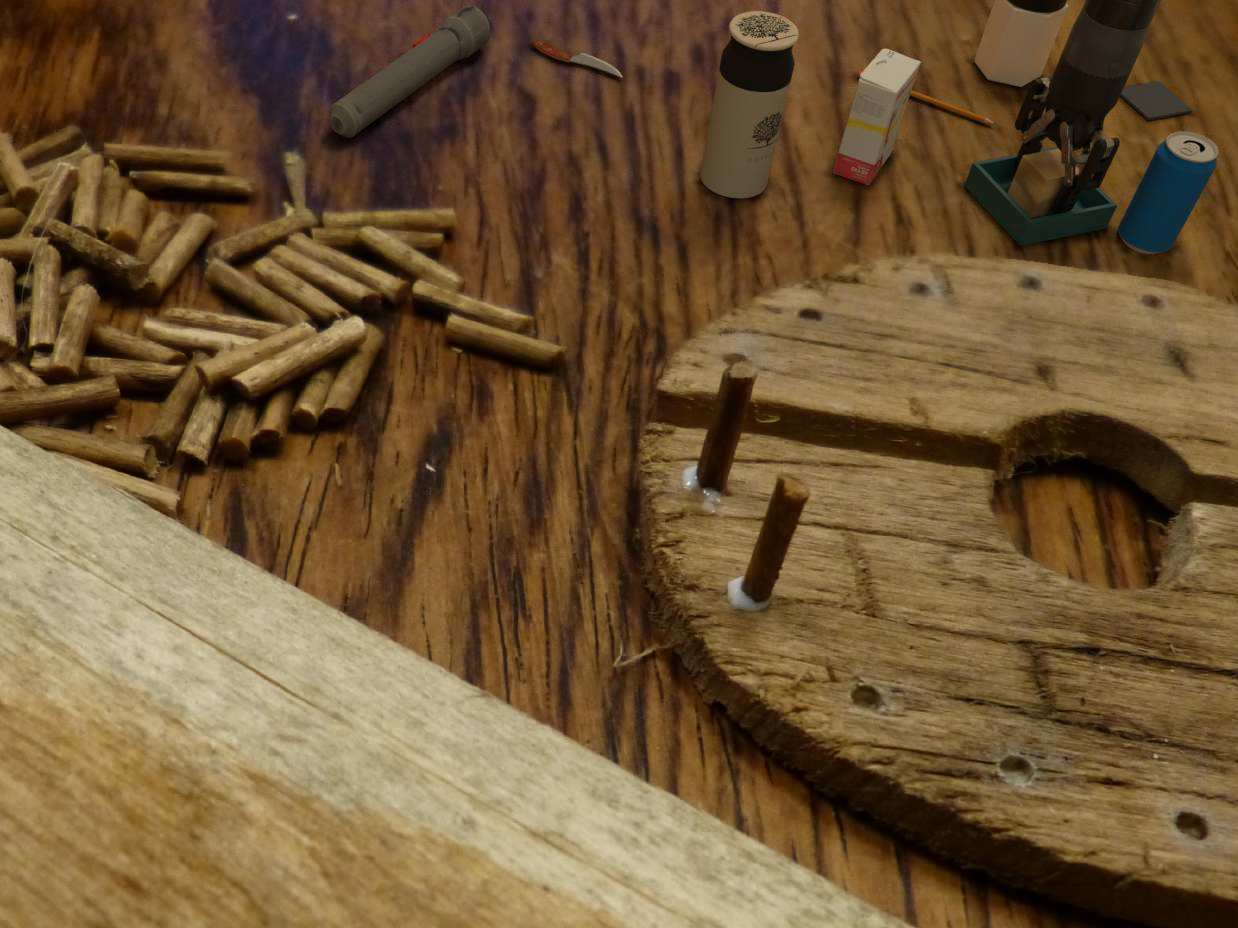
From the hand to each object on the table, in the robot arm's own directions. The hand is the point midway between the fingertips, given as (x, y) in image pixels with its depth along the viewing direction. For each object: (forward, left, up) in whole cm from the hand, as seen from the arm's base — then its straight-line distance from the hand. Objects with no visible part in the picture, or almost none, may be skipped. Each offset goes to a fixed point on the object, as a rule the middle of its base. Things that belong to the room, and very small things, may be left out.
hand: (1039, 192), depth 149 cm
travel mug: (+14, +33, -2) cm, 36 cm away
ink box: (+13, +16, -2) cm, 21 cm away
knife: (+43, +41, -2) cm, 60 cm away
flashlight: (+42, +64, -2) cm, 77 cm away
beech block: (0, 0, -1) cm, 1 cm away
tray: (0, 0, -2) cm, 2 cm away
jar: (+27, -14, -2) cm, 31 cm away
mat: (+15, -29, -2) cm, 33 cm away
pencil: (+23, +1, -2) cm, 23 cm away
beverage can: (-9, -9, -2) cm, 13 cm away
